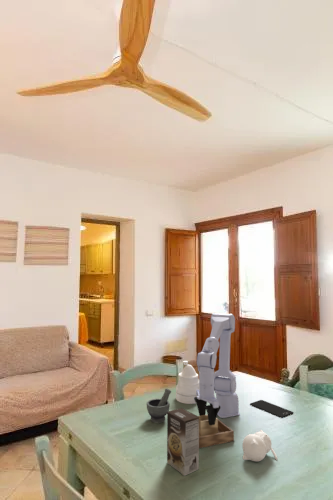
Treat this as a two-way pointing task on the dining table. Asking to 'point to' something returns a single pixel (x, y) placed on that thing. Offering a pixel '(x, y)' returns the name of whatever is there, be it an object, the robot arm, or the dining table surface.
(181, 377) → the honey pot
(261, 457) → the cat figurine
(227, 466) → the dining table surface
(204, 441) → the large crate
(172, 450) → the coffee box
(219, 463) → the dining table surface
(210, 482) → the dining table surface
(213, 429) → the small crate
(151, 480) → the dining table surface
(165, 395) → the mortar and pestle
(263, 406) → the cell phone
